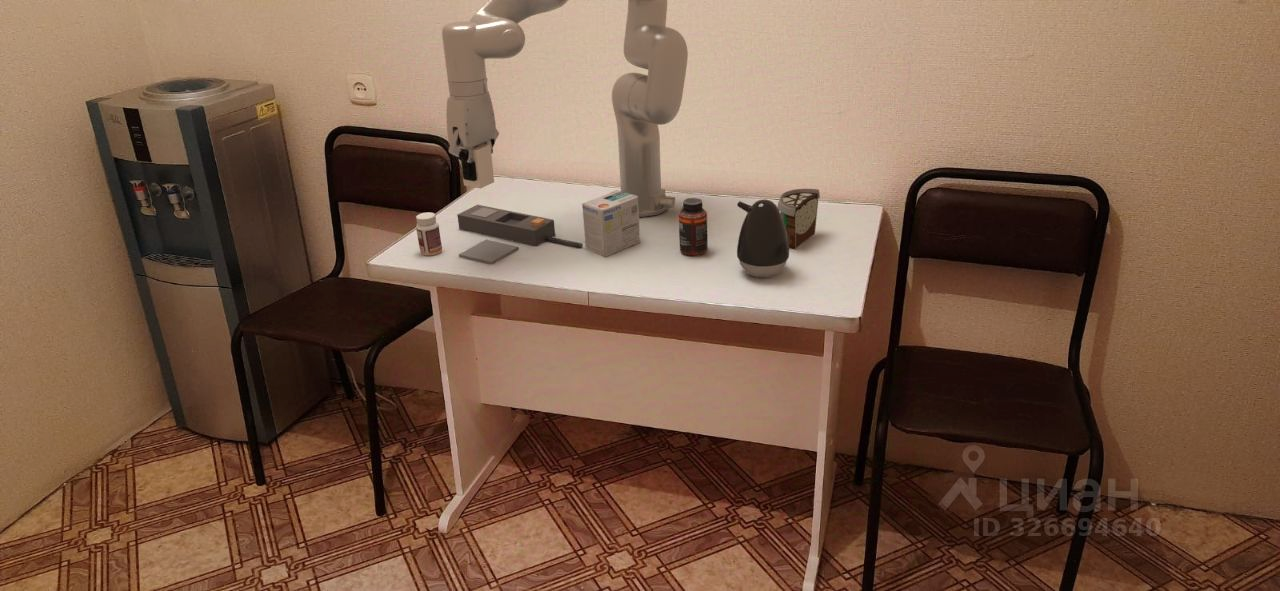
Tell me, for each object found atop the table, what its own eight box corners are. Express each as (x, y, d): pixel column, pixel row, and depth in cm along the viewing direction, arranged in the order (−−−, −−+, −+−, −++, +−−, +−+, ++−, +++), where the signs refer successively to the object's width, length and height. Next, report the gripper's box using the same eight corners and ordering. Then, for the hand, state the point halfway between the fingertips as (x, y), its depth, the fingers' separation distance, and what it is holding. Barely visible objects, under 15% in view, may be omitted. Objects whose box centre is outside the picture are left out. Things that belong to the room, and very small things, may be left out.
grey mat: (518, 249, 195) (518, 246, 194) (491, 264, 188) (491, 262, 188) (486, 241, 199) (486, 239, 199) (459, 256, 192) (458, 254, 192)
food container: (792, 227, 200) (794, 184, 195) (817, 232, 196) (820, 188, 192) (765, 246, 191) (767, 201, 186) (792, 252, 188) (794, 207, 183)
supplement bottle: (712, 248, 191) (712, 198, 186) (699, 259, 186) (699, 207, 181) (687, 243, 194) (686, 194, 189) (674, 254, 189) (673, 203, 184)
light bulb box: (620, 234, 200) (617, 188, 195) (641, 242, 195) (639, 195, 191) (584, 249, 193) (580, 202, 188) (605, 258, 189) (602, 209, 184)
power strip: (591, 242, 196) (590, 223, 194) (573, 254, 191) (571, 234, 189) (479, 218, 212) (476, 201, 210) (459, 229, 206) (456, 211, 204)
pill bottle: (445, 247, 197) (439, 211, 194) (438, 256, 193) (433, 219, 189) (424, 247, 198) (418, 211, 194) (417, 256, 194) (411, 219, 190)
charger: (494, 182, 187) (490, 144, 183) (480, 188, 184) (476, 150, 180) (477, 179, 189) (473, 141, 185) (464, 185, 186) (459, 147, 182)
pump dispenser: (744, 258, 186) (745, 188, 179) (793, 265, 182) (796, 193, 175) (729, 279, 177) (729, 206, 170) (781, 286, 174) (783, 212, 167)
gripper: (481, 77, 186) (490, 162, 194) (424, 95, 173) (436, 185, 181) (509, 80, 182) (518, 167, 190) (453, 99, 169) (465, 191, 177)
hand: (478, 175), depth 186 cm, fingers closed on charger, 4 cm apart
